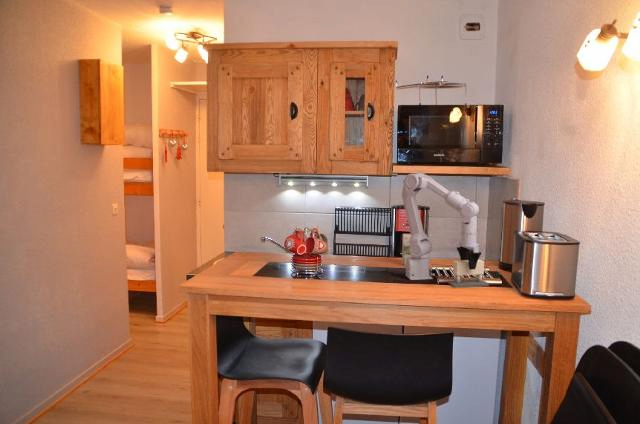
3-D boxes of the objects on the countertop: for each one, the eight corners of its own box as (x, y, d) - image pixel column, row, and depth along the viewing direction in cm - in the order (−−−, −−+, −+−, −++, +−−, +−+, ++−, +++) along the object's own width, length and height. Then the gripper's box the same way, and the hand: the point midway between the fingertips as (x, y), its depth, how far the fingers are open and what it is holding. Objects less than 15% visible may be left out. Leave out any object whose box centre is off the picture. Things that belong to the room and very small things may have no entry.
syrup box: (414, 263, 235) (414, 233, 233) (415, 266, 229) (415, 235, 228) (402, 263, 236) (402, 233, 234) (403, 265, 230) (403, 235, 228)
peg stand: (454, 287, 192) (454, 276, 192) (447, 283, 199) (448, 272, 199) (488, 286, 194) (489, 274, 193) (481, 281, 201) (481, 270, 200)
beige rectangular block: (479, 271, 199) (479, 259, 198) (483, 274, 195) (484, 261, 194) (453, 272, 197) (453, 260, 197) (456, 275, 193) (457, 262, 193)
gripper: (486, 235, 187) (486, 270, 189) (471, 229, 202) (470, 262, 203) (469, 236, 186) (468, 271, 188) (454, 230, 201) (454, 263, 202)
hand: (468, 267), depth 196 cm, fingers open, 7 cm apart
